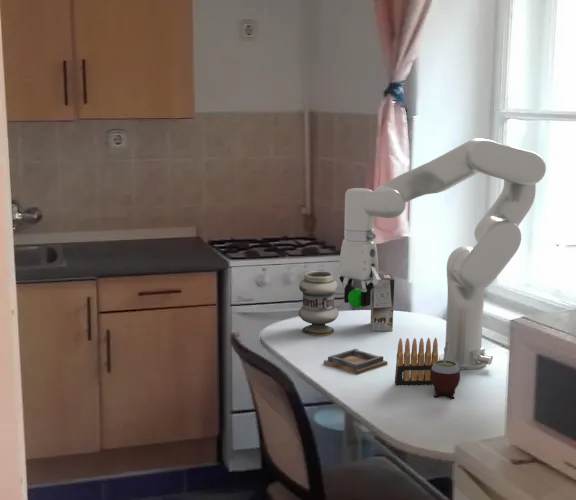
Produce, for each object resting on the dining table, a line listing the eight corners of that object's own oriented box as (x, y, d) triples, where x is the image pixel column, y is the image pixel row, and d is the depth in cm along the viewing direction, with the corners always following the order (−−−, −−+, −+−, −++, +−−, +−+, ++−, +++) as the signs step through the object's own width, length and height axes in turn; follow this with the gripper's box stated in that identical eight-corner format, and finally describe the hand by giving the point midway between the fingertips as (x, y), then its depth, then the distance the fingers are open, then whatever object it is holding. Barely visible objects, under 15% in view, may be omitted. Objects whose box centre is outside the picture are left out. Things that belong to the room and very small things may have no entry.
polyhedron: (346, 304, 228) (347, 286, 227) (365, 304, 228) (365, 286, 228) (349, 309, 223) (349, 291, 222) (367, 309, 224) (368, 291, 223)
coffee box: (393, 331, 261) (395, 279, 258) (372, 330, 261) (373, 279, 258) (390, 323, 270) (392, 273, 267) (370, 323, 270) (371, 273, 267)
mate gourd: (445, 388, 210) (447, 329, 207) (468, 398, 204) (471, 337, 201) (422, 394, 206) (424, 334, 203) (444, 404, 200) (447, 342, 197)
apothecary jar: (290, 331, 259) (290, 273, 256) (315, 323, 268) (316, 267, 265) (321, 339, 252) (322, 279, 248) (346, 330, 261) (347, 273, 257)
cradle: (387, 364, 229) (387, 357, 228) (357, 374, 220) (357, 366, 220) (353, 354, 237) (353, 347, 237) (323, 363, 229) (324, 356, 228)
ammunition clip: (436, 382, 215) (438, 336, 212) (438, 385, 213) (440, 338, 211) (394, 383, 214) (396, 337, 212) (396, 385, 212) (397, 339, 210)
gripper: (393, 238, 219) (391, 307, 222) (344, 230, 231) (342, 296, 234) (374, 241, 214) (372, 312, 217) (325, 233, 226) (323, 300, 229)
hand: (357, 303), depth 226 cm, fingers closed on polyhedron, 5 cm apart
